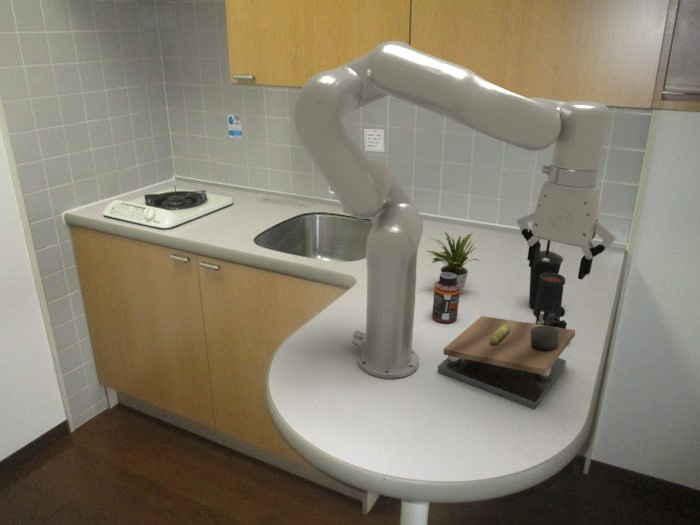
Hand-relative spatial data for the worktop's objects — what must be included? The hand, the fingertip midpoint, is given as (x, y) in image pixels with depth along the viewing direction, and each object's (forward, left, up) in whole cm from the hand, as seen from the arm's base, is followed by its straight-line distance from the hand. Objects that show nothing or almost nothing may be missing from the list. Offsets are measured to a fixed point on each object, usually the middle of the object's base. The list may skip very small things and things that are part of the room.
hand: (557, 270), depth 104 cm
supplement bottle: (-28, +13, -24) cm, 39 cm away
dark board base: (-8, 0, -24) cm, 25 cm away
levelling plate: (-7, 0, -18) cm, 19 cm away
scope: (-6, +20, -24) cm, 32 cm away
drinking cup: (-12, +33, -24) cm, 42 cm away
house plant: (-34, +29, -24) cm, 51 cm away
